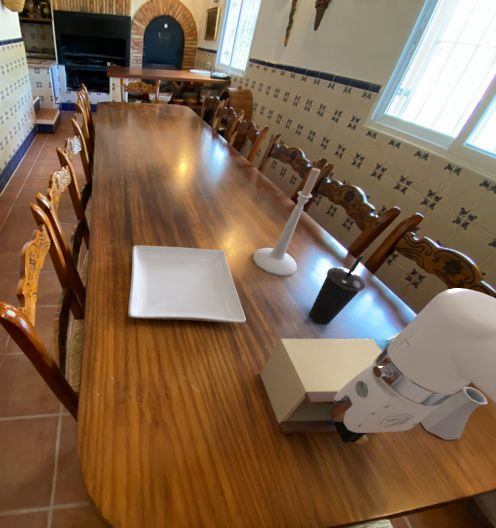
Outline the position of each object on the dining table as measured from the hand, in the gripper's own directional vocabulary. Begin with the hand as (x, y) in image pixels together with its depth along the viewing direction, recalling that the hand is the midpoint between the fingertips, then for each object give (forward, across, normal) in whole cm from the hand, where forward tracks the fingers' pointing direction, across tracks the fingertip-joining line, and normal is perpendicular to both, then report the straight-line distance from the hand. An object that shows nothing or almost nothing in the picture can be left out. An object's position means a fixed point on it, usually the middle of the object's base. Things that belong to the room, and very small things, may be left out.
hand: (343, 432), depth 49 cm
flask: (+5, +23, +3) cm, 24 cm away
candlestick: (+4, +10, +50) cm, 52 cm away
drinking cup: (+4, +13, +28) cm, 31 cm away
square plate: (+4, -21, +38) cm, 44 cm away
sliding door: (+3, +5, +1) cm, 6 cm away
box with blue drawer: (+4, +1, +7) cm, 9 cm away
